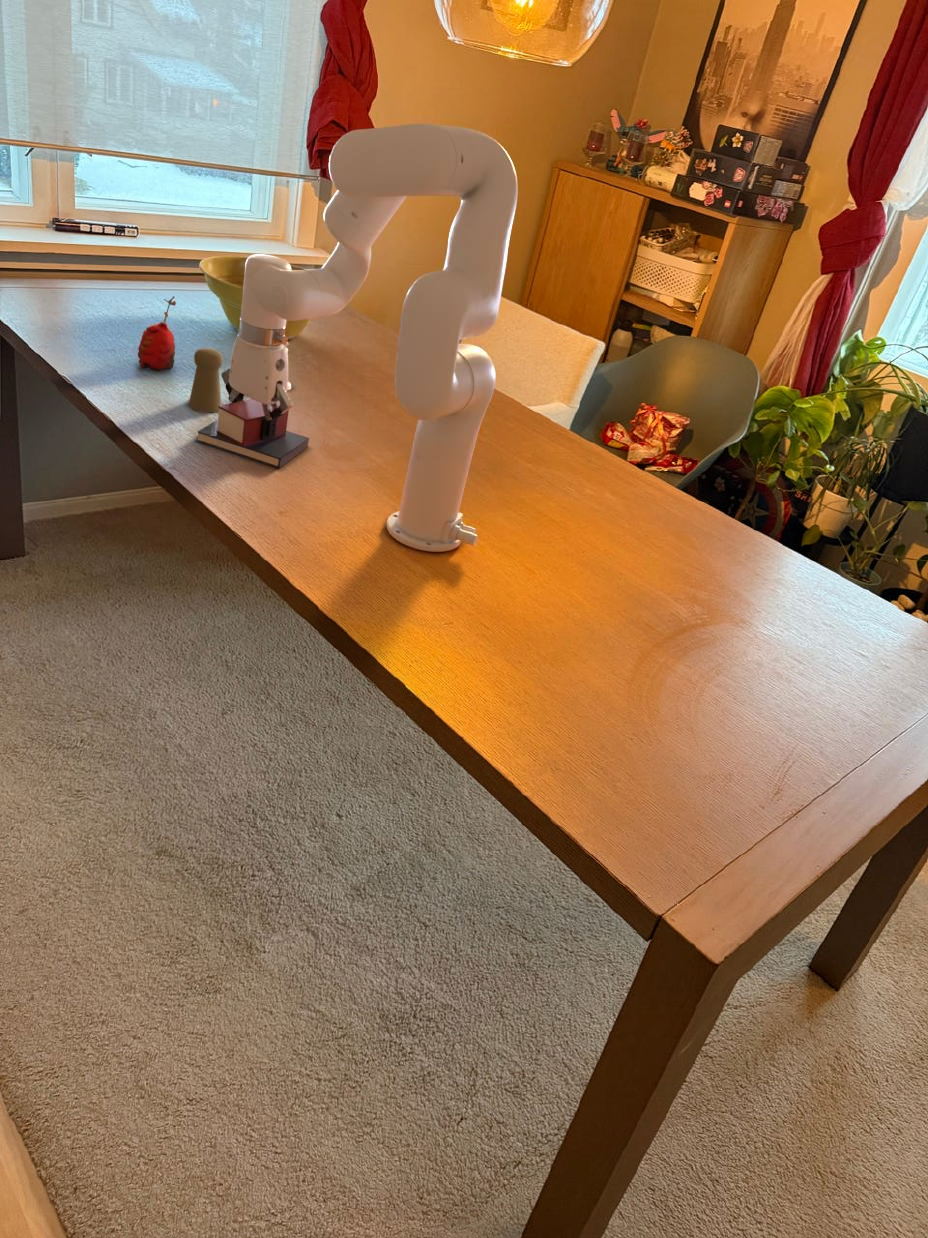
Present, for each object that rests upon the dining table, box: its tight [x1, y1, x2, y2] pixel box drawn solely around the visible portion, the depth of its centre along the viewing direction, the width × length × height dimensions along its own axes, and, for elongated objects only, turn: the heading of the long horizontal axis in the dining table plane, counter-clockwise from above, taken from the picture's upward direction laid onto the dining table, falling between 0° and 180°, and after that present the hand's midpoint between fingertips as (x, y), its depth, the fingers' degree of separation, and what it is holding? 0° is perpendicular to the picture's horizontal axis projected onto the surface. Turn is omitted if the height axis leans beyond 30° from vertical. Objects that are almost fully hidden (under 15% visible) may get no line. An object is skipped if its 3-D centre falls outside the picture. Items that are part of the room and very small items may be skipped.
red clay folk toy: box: [137, 296, 177, 372], centre depth 183 cm, size 8×7×15 cm
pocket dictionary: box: [217, 398, 290, 447], centre depth 163 cm, size 7×10×5 cm, turn 146°
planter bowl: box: [198, 255, 313, 340], centre depth 218 cm, size 32×32×13 cm
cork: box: [188, 347, 224, 413], centre depth 173 cm, size 6×6×11 cm
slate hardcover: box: [196, 419, 310, 469], centre depth 165 cm, size 16×12×2 cm
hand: (252, 430), depth 164 cm, fingers closed on pocket dictionary, 6 cm apart
